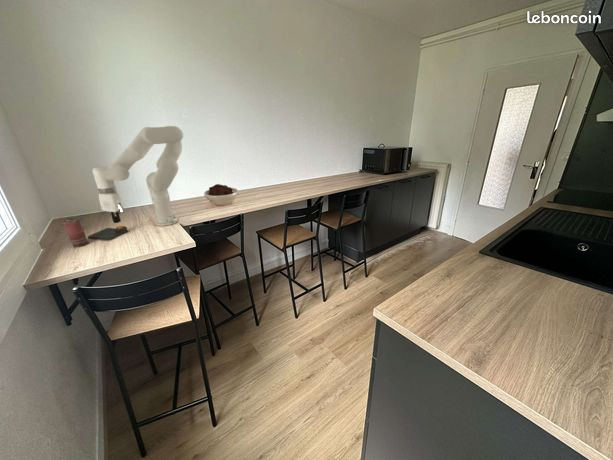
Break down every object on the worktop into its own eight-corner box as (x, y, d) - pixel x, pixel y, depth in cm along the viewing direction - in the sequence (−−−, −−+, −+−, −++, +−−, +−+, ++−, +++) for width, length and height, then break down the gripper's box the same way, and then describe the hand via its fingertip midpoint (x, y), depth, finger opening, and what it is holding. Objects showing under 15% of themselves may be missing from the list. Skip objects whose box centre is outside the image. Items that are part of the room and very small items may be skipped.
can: (78, 242, 134) (68, 218, 129) (91, 241, 135) (81, 217, 129) (69, 247, 129) (58, 222, 123) (82, 247, 129) (72, 222, 123)
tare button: (124, 228, 145) (123, 225, 145) (120, 229, 143) (119, 227, 142) (120, 227, 146) (119, 225, 145) (116, 229, 143) (116, 227, 143)
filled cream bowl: (238, 197, 210) (236, 179, 204) (240, 206, 188) (238, 186, 182) (206, 200, 203) (203, 181, 197) (205, 210, 181) (201, 189, 175)
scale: (130, 231, 147) (128, 226, 146) (110, 240, 136) (108, 235, 135) (109, 229, 150) (107, 224, 149) (88, 238, 139) (86, 233, 137)
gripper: (89, 191, 133) (100, 223, 140) (113, 193, 130) (122, 225, 138) (102, 188, 140) (112, 218, 147) (125, 189, 137) (134, 220, 144)
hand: (117, 222), depth 142 cm, fingers closed
